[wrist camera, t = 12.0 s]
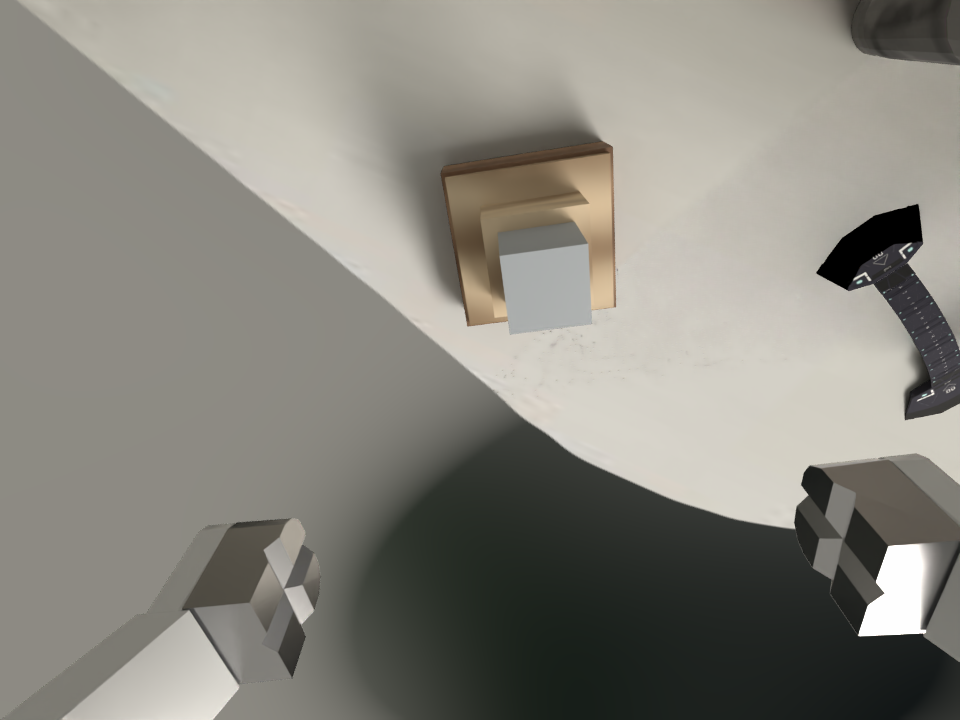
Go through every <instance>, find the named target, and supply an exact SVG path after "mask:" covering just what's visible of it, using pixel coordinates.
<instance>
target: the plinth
mask: <svg viewBox="0 0 960 720" xmlns="http://www.w3.org/2000/svg"><path fill="white" fill-rule="evenodd" d="M441 178H442V184H443V190H444V196H445V201H446V207H447V213H448V218H449V224H450V230H451V235H452V241H453V247H454V253H455V258H456V264H457V270H458V275H459V281H460V287H461V292H462V298H463V304H464V309H465V315H466V321H467V326H475V325H483V324H490V323H498V322H506V321H508V316H506V317H498V318H495V317H494V310H493V303H492V296H491V289H490V282H489V275H488V269H487V262H486V255H485V248H484V241H483V234H482V227H481V221H480V216H481V206H484V205H491V204H497V203H504V202H511V201H518V200H524V199H531V198H538V197H544V196H551V195H558V194H565V193H571V192H578V191H580V193H581V194H582V195H583V196H584V197H585V199H586V200H587V201H588V202H589V203H590V224H591V247H592V271H593V294H594V305H591V310H598V309H606V308H613V307H616V281H615V232H614V183H613V147H612V146H610V145H609V144H607V143H605V142H603V141H602V142H595V143H589V144H583V145H576V146H570V147H563V148H557V149H550V150H544V151H538V152H531V153H525V154H518V155H512V156H505V157H499V158H493V159H486V160H480V161H473V162H467V163H461V164H454V165H448V166H444V167H443V169H442V171H441Z"/></svg>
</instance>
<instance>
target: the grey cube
mask: <svg viewBox="0 0 960 720" xmlns="http://www.w3.org/2000/svg"><path fill="white" fill-rule="evenodd" d="M498 243H499V256H500V264H501V271H502V279H503V286H504V294H505V301H506V309H507V316H508V324H509V332H510V335H511V334H519V333H526V332H534V331H542V330H550V329H558V328H565V327H573V326H581V325H589V324H592V314H591V293H590V271H589V249H588V242H587V241H586V239H585V238H584V236H583V234H582V233H581V231H580V229H579V228H578V226H577V225H576V223H575V222H568V223H561V224H554V225H547V226H540V227H533V228H526V229H519V230H512V231H505V232H498Z"/></svg>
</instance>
